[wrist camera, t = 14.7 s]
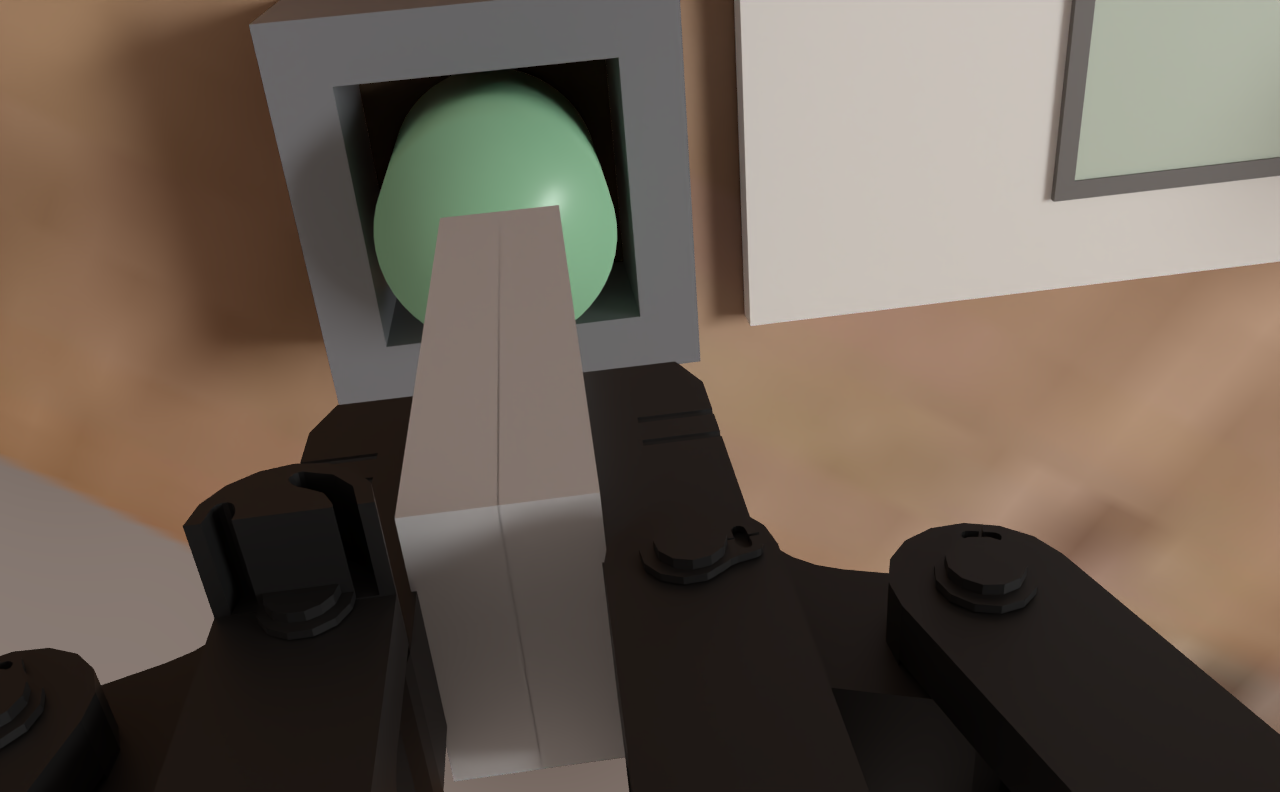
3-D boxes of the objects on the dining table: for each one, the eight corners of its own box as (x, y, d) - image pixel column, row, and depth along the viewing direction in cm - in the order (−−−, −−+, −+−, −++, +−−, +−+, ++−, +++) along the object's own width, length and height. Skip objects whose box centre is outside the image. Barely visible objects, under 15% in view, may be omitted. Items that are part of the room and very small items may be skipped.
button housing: (281, -1, 20) (248, 25, 17) (654, -37, 20) (678, -18, 18) (356, 340, 23) (339, 406, 21) (677, 302, 24) (700, 361, 21)
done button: (375, 79, 20) (350, 130, 17) (586, 57, 21) (605, 103, 17) (412, 276, 22) (398, 360, 19) (605, 254, 22) (626, 332, 19)
